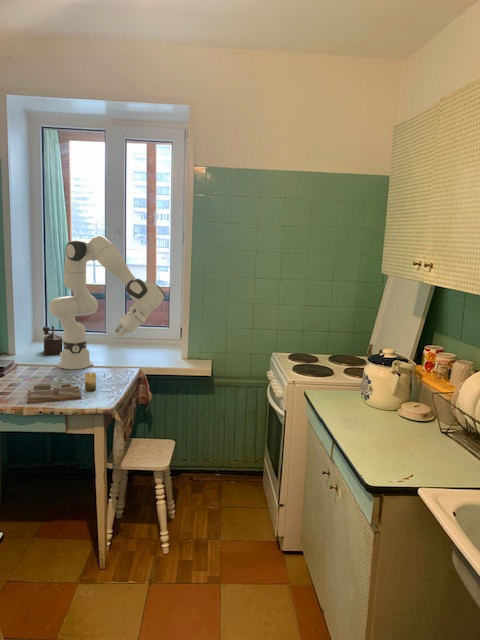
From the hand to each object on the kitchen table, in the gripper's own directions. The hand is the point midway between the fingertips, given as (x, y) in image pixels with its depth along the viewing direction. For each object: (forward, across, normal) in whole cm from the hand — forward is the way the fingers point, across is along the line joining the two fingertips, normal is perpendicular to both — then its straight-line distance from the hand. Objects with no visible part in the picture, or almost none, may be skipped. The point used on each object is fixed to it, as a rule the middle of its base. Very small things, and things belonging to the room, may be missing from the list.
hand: (117, 334), depth 228 cm
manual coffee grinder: (+38, -75, -1) cm, 84 cm away
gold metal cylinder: (+28, 0, +10) cm, 29 cm away
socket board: (+39, +4, -2) cm, 39 cm away
